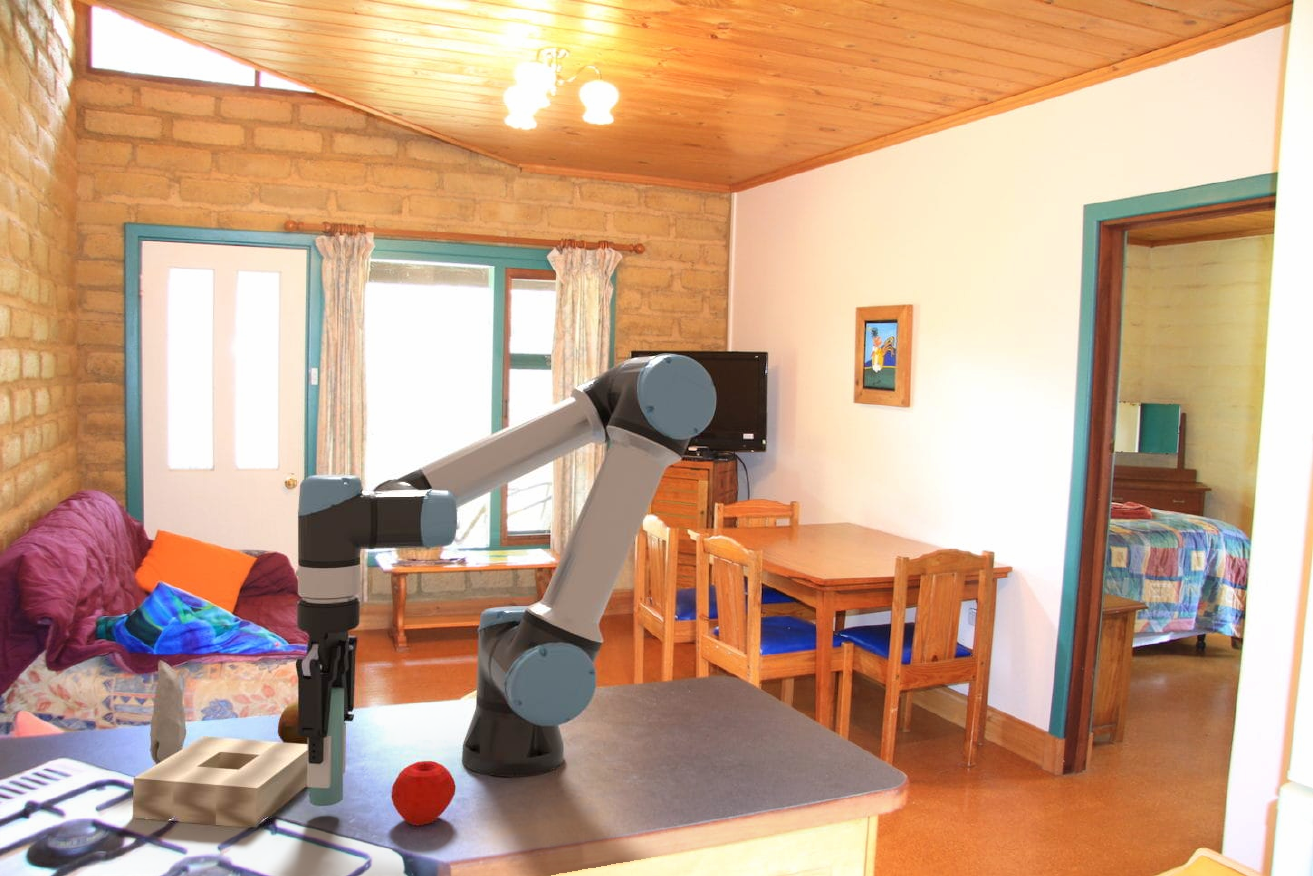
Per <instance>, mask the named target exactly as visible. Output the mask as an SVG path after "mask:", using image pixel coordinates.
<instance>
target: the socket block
mask: <svg viewBox="0 0 1313 876" xmlns="http://www.w3.org/2000/svg"><path fill="white" fill-rule="evenodd" d="M307 746H308V744H296V743H283V741H282V742H281V741H279V742H278V741H267V740H255V739H241V738H232V737H231V738H230V737H217V736H216V737H215V736H202V737H201V738H199V739H197V740H195V741H193V742H192V743H191V744H189V745H186V746H185V747H183V748H182V750H180V751H179V752H177V753H175V754H174V755H172V756H170V757H168V758H167V759H165V760H163V761H162V762H160V763H158V764H157V765H156V764H155V765H153V766H152V767H150V768H148V769H147V770H145V771H143V772H141V773H140V774H138V775H136V776H135V777H134V778H133V791H132V793H133V795H132V819H140V818H142V819H141V820H151V819H155V820H154V821H163V820H169V819H172V818H177V819H178V821H179V822H178V823H186V824H187V823H189V824H201V825H213V826H223V827H225V826H226V827H234V828H235V827H237V828H245V829H247V828H248V829H250V828H249V827H256V826H257V825H258V824H259V823H260V822H261V821H262V820H263V819H265V818H267V817H269V816H270V817H271V816H273V815H274V814H275V813H277V812H278V811H279V810H280V809H281V808H282V807H283V806H284V805H286V804H287V803H288V802H290V800H291V799H294V797H295V796H296V795H297V794H299V793H300V792H301V791H302V790H304V788H307ZM270 817H269V818H270ZM143 818H145V819H143ZM146 818H147V819H146Z"/></svg>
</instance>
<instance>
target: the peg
mask: <svg viewBox="0 0 1313 876" xmlns="http://www.w3.org/2000/svg"><path fill="white" fill-rule="evenodd" d="M327 735H331V779H330V787H329V788H314V787H309V804H311V805H313V806H317V807H326V806H327V807H328V806H332V805H336V804H338V803H340V802H342V801H343V799H344V797H343V796H344V794H343V793H344V774H343V737H344V689H343V688H341V687H332V690H331V701H330V712H329V723H328V733H327Z"/></svg>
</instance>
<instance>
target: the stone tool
mask: <svg viewBox="0 0 1313 876" xmlns="http://www.w3.org/2000/svg"><path fill="white" fill-rule="evenodd" d="M157 667H158V668H157V669H158V671H157V683H156V687H155V692H154V693H155V694H154V698H153V699H154V700H153V712H152V717H151V720H150V732H149V733H150V734H149V736H150V749H149V751H150V754H151V755H150V756H151V759H152V760H153V762H154V763H155V765H157V764H158V763H160V762H162V761H163V760H165V759H167V758H168V757H170V756H172V755H174V754H175V753H177V752H179V751H180V750H182V749H183V748H184V743H185V739H186V737H187V727H186V712H185V706H184V702H183V701H184V700H183V689H182V687H181V686H180V681H179V678H178V677H179V676H178V674H177V673H176V670H174V669H173V668H172V667H171V666H170V664H168V663H166V662H164V661H163V660H159V661H158V662H157Z"/></svg>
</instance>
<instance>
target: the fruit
mask: <svg viewBox="0 0 1313 876" xmlns="http://www.w3.org/2000/svg"><path fill="white" fill-rule="evenodd" d="M277 724H278V725H277V734H278V736H279V739H280V740H281V741H282V742H283V743H296V744H308V737H301V736H299V734H298V699H296V700H294V701H292V702H291V703H290V704H288V706H286V707H285V708H284V709H283V711H282V713H281V715H280V717H279V720H278V723H277Z"/></svg>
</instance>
